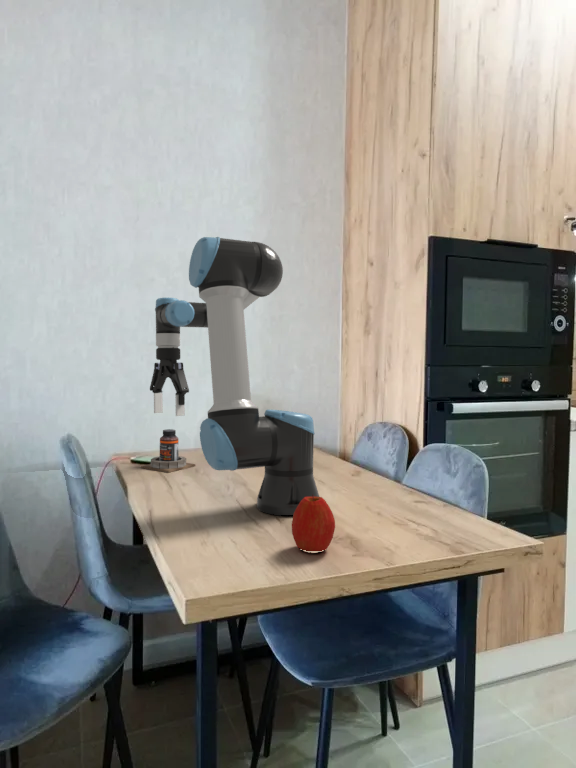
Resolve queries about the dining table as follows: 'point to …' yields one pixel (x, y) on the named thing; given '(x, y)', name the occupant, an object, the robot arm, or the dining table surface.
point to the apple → (313, 524)
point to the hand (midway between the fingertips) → (168, 414)
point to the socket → (168, 465)
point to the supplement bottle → (169, 446)
